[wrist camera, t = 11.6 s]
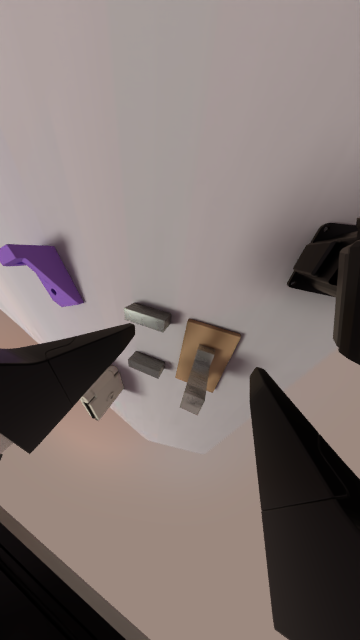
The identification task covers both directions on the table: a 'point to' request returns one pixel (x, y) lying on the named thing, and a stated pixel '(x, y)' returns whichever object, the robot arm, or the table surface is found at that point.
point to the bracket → (44, 270)
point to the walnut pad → (211, 338)
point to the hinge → (102, 393)
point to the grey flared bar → (198, 380)
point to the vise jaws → (151, 320)
